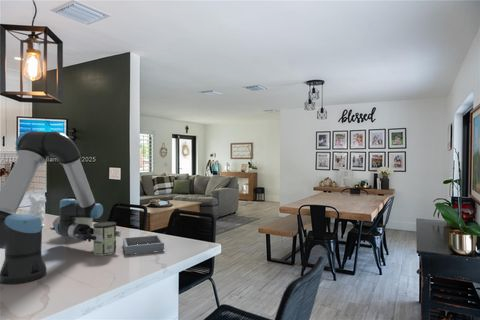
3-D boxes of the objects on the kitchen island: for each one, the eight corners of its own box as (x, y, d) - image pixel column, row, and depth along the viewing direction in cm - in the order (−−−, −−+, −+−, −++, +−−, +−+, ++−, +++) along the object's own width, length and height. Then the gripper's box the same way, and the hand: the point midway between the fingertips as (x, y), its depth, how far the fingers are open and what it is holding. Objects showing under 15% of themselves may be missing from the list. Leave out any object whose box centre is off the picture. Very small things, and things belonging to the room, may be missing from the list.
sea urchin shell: (74, 228, 209) (74, 216, 209) (50, 229, 204) (50, 217, 204) (76, 224, 222) (76, 212, 222) (54, 225, 217) (54, 213, 217)
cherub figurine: (40, 224, 219) (41, 192, 220) (53, 226, 215) (54, 193, 215) (22, 228, 208) (23, 193, 208) (36, 229, 203) (37, 194, 204)
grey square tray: (164, 251, 160) (164, 243, 160) (125, 255, 153) (125, 246, 153) (158, 242, 176) (158, 235, 176) (123, 245, 169) (123, 237, 169)
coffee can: (102, 248, 163) (103, 220, 163) (120, 250, 160) (120, 222, 160) (88, 254, 153) (88, 224, 153) (106, 256, 150) (106, 226, 150)
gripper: (98, 233, 175) (128, 238, 165) (58, 243, 154) (90, 249, 144) (98, 220, 175) (129, 224, 165) (59, 227, 154) (90, 233, 144)
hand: (111, 236), depth 155 cm, fingers closed on coffee can, 10 cm apart
